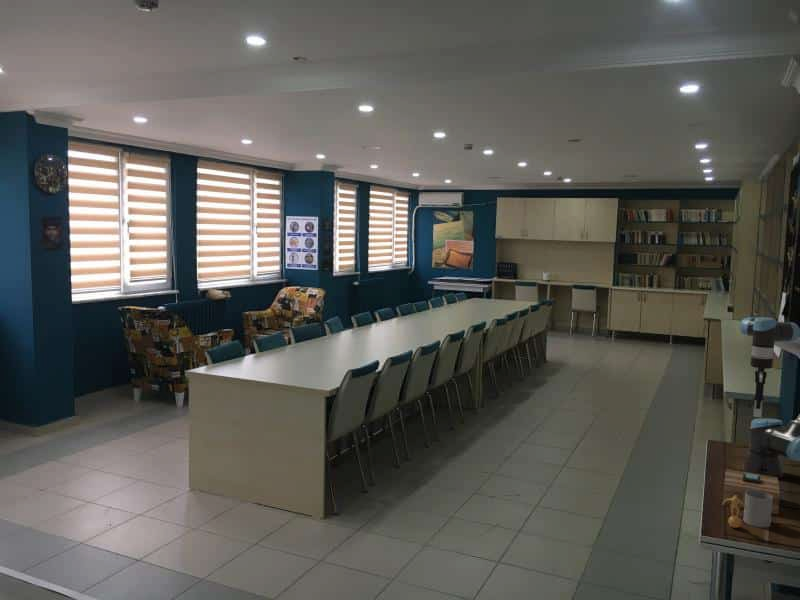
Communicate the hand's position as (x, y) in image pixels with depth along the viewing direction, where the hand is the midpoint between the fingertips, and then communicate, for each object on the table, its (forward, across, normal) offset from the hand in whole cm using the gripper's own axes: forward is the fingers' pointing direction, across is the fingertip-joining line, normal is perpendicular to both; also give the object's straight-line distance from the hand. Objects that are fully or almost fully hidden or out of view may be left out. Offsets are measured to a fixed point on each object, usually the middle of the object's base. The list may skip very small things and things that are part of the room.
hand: (757, 416), depth 264 cm
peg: (+28, +15, -1) cm, 32 cm away
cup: (+30, +35, +1) cm, 46 cm away
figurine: (+30, +45, -6) cm, 54 cm away
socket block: (+29, +15, -1) cm, 33 cm away
